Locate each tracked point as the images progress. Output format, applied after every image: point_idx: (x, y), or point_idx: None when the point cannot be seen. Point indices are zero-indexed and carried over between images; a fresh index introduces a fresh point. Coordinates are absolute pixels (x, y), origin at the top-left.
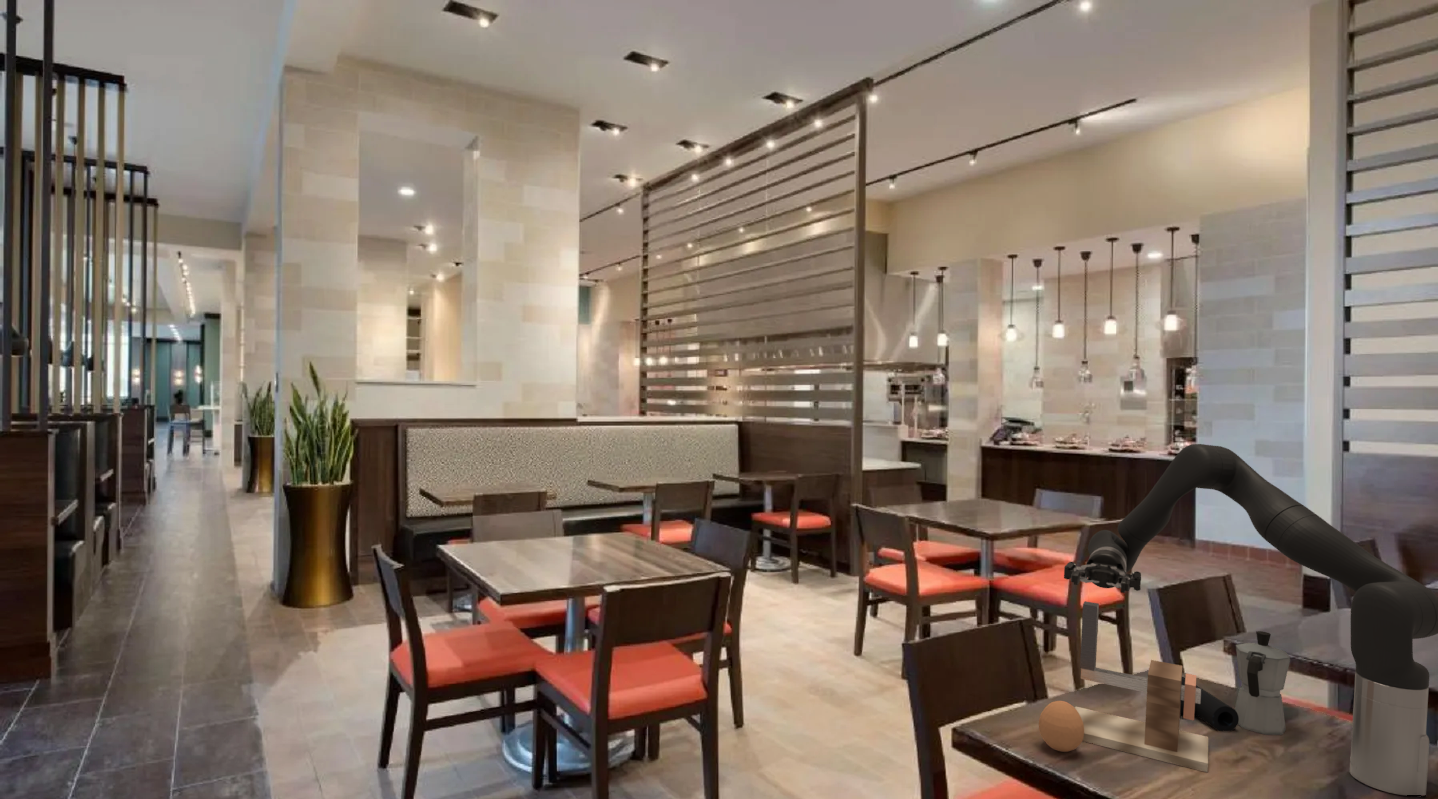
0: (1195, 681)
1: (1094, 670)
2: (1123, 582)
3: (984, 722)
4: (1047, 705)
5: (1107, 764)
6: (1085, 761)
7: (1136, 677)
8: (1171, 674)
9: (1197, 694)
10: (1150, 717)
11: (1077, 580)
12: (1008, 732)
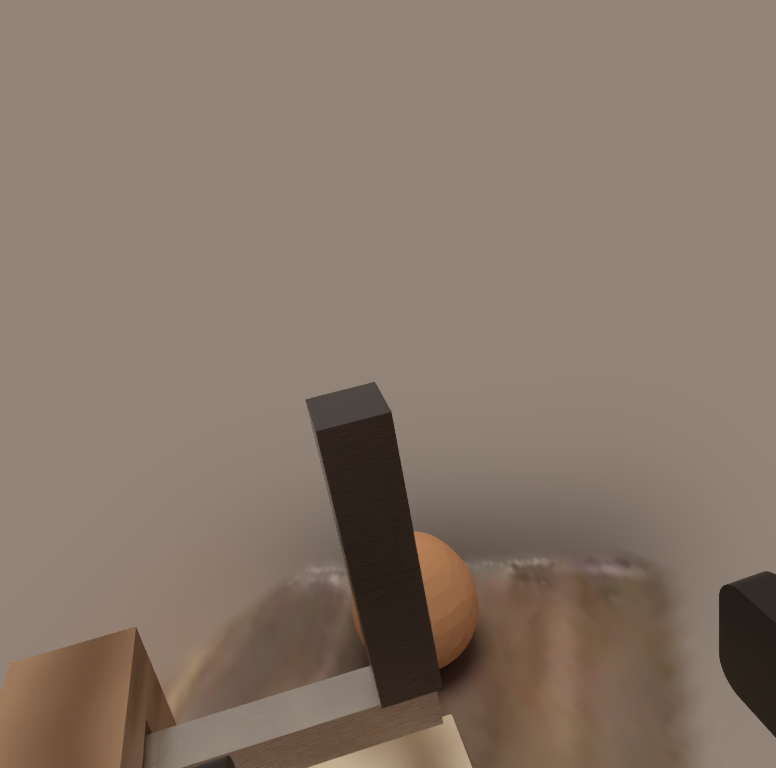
0: None
1: (370, 669)
2: (201, 765)
3: (662, 626)
4: (445, 546)
5: (300, 680)
6: (349, 651)
7: (200, 742)
8: (36, 701)
9: None
10: None
11: (721, 625)
12: (575, 630)
